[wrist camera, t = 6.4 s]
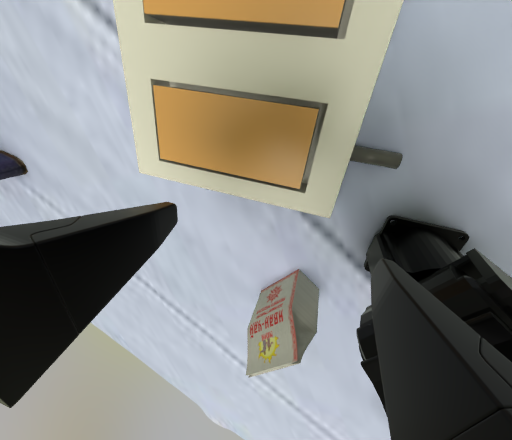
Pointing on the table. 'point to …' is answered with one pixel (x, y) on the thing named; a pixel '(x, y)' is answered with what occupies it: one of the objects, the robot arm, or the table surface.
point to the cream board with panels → (262, 91)
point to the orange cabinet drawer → (235, 134)
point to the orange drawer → (253, 15)
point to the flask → (10, 166)
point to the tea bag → (282, 324)
